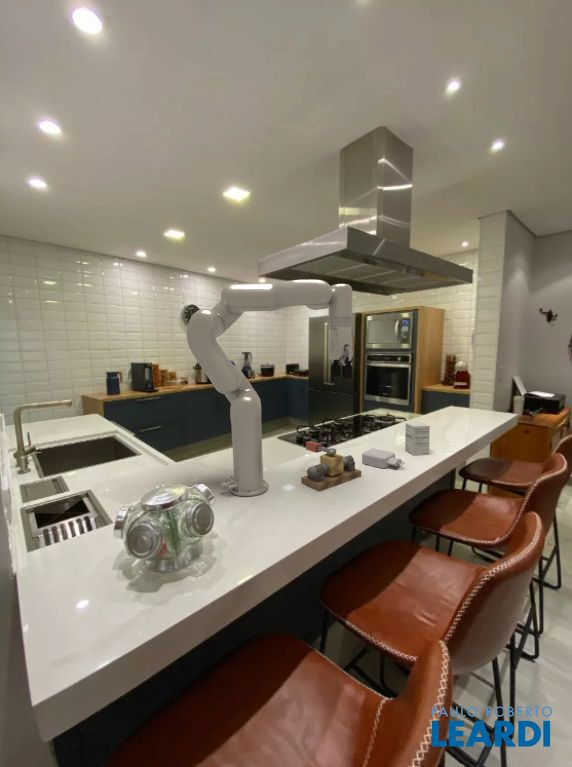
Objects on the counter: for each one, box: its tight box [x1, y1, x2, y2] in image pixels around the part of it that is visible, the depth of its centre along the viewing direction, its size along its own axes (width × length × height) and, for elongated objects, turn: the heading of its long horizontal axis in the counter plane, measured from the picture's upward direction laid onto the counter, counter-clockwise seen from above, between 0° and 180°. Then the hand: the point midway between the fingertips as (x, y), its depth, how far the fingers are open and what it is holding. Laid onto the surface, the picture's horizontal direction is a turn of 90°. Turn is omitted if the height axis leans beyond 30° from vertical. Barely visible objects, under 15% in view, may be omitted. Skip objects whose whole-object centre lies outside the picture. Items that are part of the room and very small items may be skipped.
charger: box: [361, 448, 406, 469], centre depth 126 cm, size 5×9×15 cm
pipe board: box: [300, 453, 362, 492], centre depth 112 cm, size 20×9×9 cm, turn 127°
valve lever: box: [305, 440, 337, 454], centre depth 116 cm, size 14×3×3 cm, turn 37°
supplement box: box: [404, 421, 431, 457], centre depth 140 cm, size 7×7×13 cm
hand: (341, 377), depth 106 cm, fingers open, 9 cm apart
